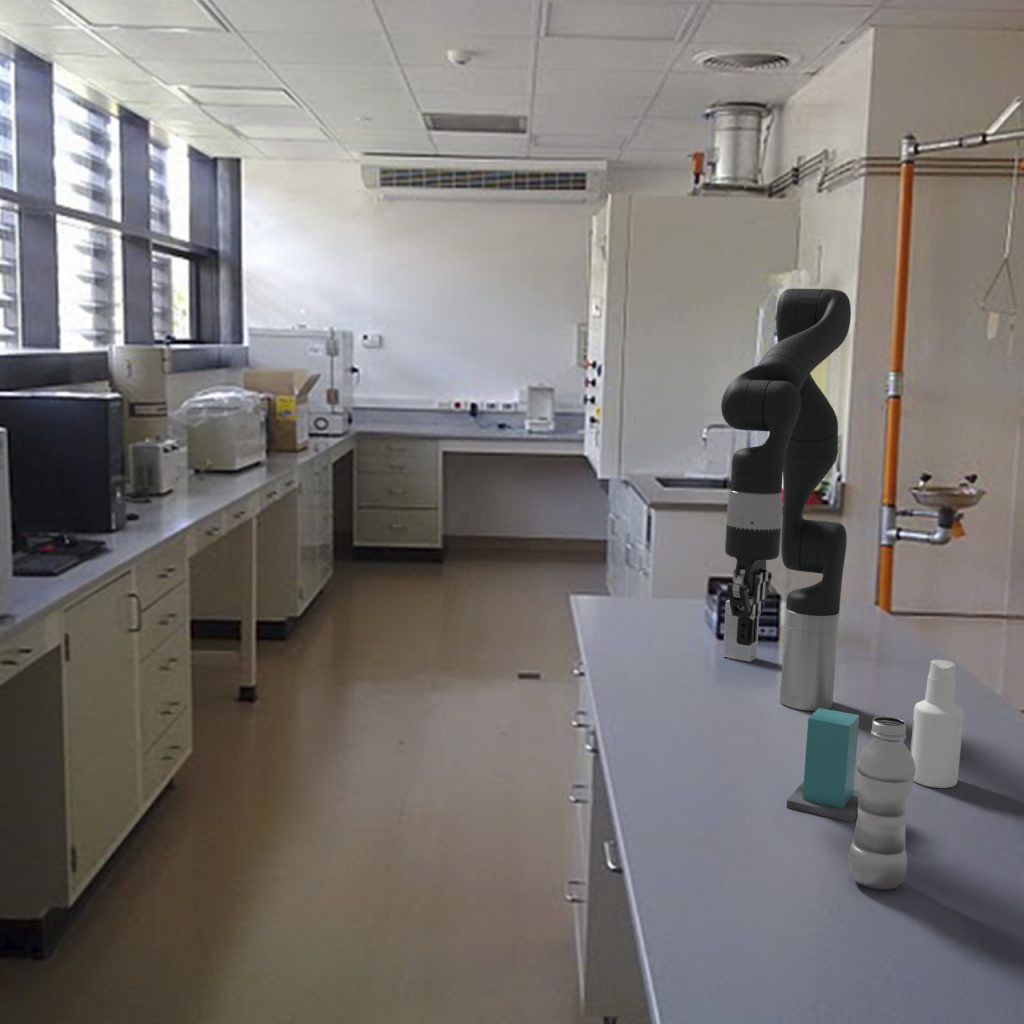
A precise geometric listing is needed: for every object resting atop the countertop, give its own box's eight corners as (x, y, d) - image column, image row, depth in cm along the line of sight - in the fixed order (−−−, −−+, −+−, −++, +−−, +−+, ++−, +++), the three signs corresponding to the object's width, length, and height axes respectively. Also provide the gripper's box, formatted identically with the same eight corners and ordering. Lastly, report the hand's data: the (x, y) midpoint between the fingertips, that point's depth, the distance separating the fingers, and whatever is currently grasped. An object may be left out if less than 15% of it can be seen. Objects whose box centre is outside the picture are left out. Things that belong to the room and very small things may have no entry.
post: (804, 786, 162) (808, 733, 161) (867, 800, 158) (872, 745, 157) (786, 807, 155) (790, 751, 153) (852, 822, 150) (857, 765, 149)
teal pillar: (813, 786, 160) (818, 707, 158) (853, 794, 157) (859, 715, 155) (802, 799, 155) (808, 718, 153) (843, 808, 152) (849, 726, 151)
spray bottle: (956, 775, 168) (966, 659, 166) (958, 792, 162) (969, 671, 159) (908, 769, 171) (918, 654, 168) (908, 784, 164) (918, 665, 162)
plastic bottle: (838, 871, 136) (850, 712, 133) (891, 870, 136) (905, 712, 133) (858, 897, 129) (871, 730, 126) (915, 896, 130) (929, 730, 127)
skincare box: (757, 658, 231) (760, 601, 229) (749, 662, 228) (753, 605, 226) (729, 653, 234) (732, 597, 233) (721, 657, 231) (725, 600, 229)
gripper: (765, 531, 149) (757, 658, 152) (793, 520, 161) (785, 637, 164) (711, 526, 153) (704, 649, 156) (743, 515, 165) (736, 630, 167)
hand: (746, 642), depth 160 cm, fingers closed
